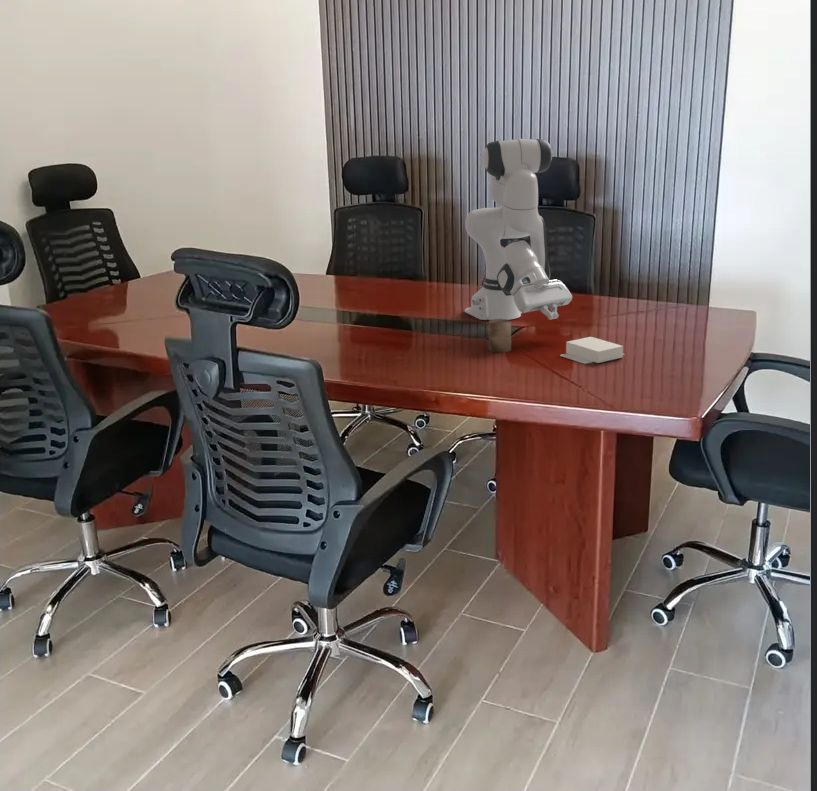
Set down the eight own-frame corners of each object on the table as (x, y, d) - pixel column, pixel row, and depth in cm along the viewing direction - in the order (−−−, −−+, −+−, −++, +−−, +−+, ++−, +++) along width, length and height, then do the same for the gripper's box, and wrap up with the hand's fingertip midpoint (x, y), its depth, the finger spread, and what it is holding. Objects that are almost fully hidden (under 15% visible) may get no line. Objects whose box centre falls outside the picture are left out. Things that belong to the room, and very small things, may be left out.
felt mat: (560, 355, 268) (560, 354, 268) (599, 347, 276) (599, 346, 276) (584, 364, 260) (584, 363, 259) (624, 354, 267) (624, 354, 267)
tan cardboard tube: (484, 349, 278) (484, 321, 276) (501, 345, 282) (502, 318, 279) (497, 353, 273) (497, 325, 270) (515, 350, 276) (515, 322, 273)
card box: (566, 341, 269) (598, 351, 258) (590, 336, 274) (623, 346, 263) (566, 352, 270) (597, 363, 259) (590, 347, 275) (622, 357, 264)
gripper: (555, 284, 292) (574, 318, 287) (506, 292, 282) (524, 328, 277) (564, 273, 287) (584, 307, 282) (514, 281, 277) (534, 317, 272)
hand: (554, 318), depth 280 cm, fingers closed
